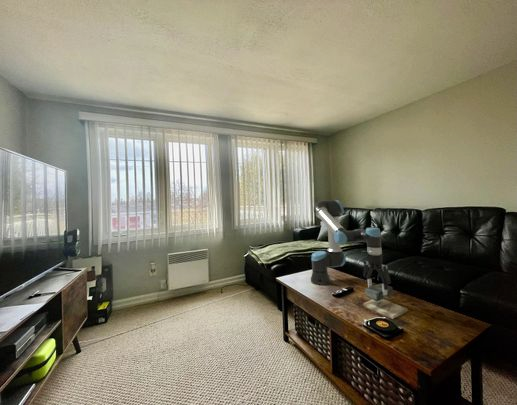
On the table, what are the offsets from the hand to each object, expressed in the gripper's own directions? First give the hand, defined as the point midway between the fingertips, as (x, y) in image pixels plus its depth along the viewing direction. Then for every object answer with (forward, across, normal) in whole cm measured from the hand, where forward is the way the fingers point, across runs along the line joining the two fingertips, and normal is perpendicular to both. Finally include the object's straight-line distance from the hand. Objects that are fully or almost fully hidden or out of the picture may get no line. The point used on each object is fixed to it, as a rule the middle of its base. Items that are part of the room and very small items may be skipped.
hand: (377, 292), depth 123 cm
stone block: (+3, 0, +1) cm, 3 cm away
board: (+8, +4, 0) cm, 9 cm away
